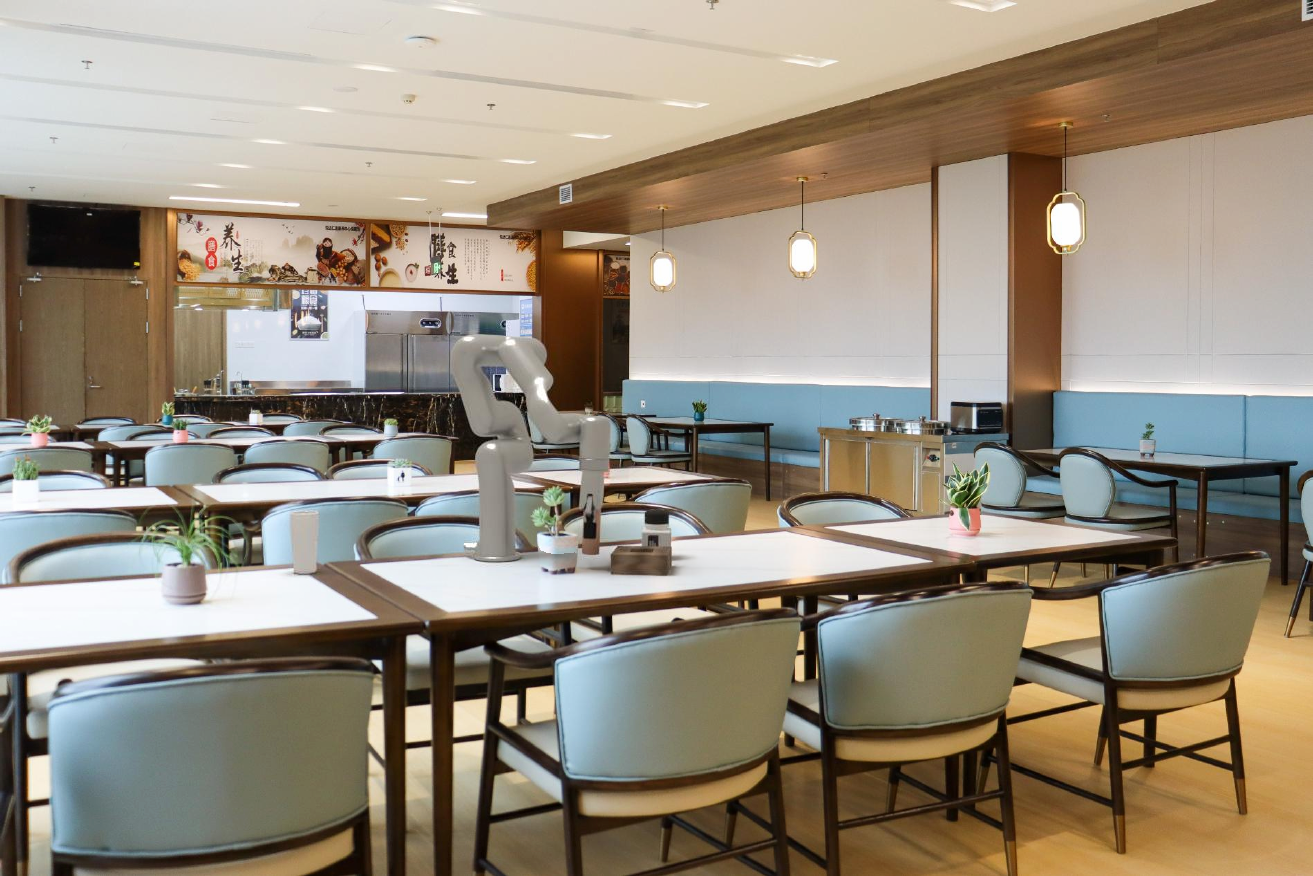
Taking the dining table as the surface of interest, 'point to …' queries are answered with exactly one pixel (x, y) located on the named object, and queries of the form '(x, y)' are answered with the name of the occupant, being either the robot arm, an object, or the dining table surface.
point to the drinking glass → (304, 540)
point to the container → (656, 529)
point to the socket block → (641, 560)
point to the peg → (592, 544)
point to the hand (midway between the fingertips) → (591, 536)
